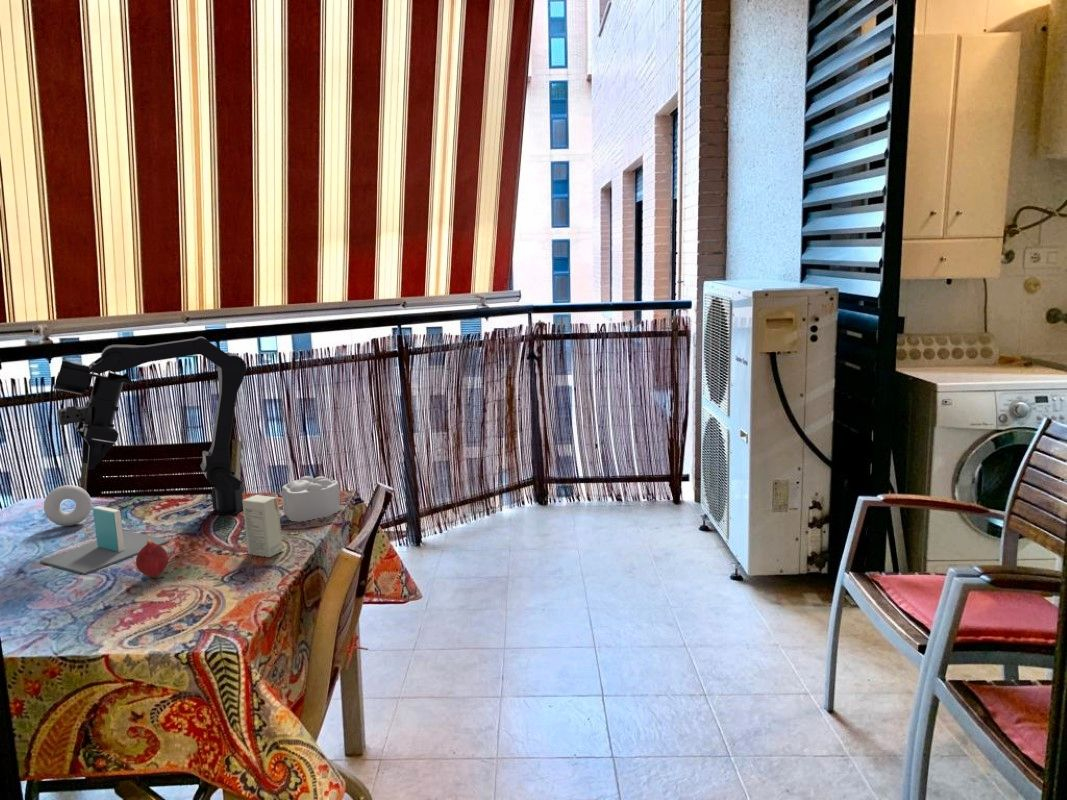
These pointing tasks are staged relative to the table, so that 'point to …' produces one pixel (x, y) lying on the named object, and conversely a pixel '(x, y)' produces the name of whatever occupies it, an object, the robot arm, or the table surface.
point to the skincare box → (262, 525)
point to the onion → (152, 559)
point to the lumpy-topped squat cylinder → (310, 498)
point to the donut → (61, 494)
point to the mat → (100, 554)
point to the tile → (108, 528)
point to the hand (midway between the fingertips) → (87, 466)
